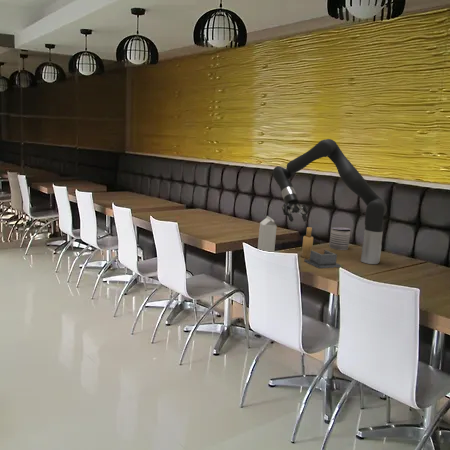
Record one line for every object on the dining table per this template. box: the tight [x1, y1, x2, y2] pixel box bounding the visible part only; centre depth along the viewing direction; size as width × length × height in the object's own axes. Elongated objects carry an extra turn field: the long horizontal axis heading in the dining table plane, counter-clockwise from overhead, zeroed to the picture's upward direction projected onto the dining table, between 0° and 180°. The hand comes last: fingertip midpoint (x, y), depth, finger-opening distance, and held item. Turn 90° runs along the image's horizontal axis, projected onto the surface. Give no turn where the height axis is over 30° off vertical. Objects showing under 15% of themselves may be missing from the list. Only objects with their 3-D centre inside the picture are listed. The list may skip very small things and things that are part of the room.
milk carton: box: [257, 215, 277, 253], centre depth 283 cm, size 7×7×19 cm
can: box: [328, 227, 351, 251], centre depth 308 cm, size 11×11×12 cm
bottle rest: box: [303, 249, 342, 269], centre depth 266 cm, size 13×13×6 cm
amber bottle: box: [300, 226, 314, 259], centre depth 278 cm, size 5×5×16 cm
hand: (298, 220), depth 285 cm, fingers open, 8 cm apart
